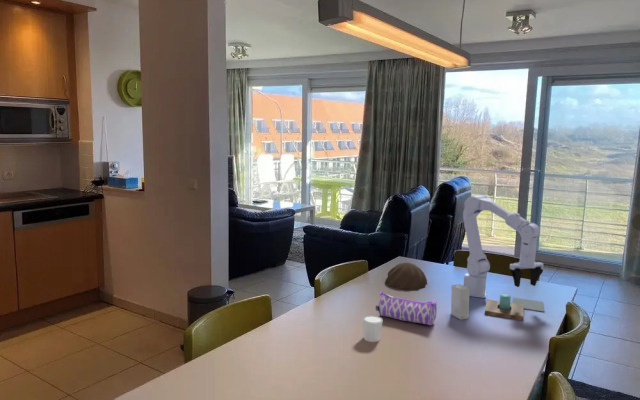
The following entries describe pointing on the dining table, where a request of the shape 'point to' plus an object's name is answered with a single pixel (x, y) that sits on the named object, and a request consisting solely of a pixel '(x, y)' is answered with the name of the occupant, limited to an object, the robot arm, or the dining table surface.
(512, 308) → the holder block
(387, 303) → the pencil case
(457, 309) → the skincare box
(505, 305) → the peg
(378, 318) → the white cylinder
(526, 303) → the slate mat
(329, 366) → the dining table surface
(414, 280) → the decorative dome
